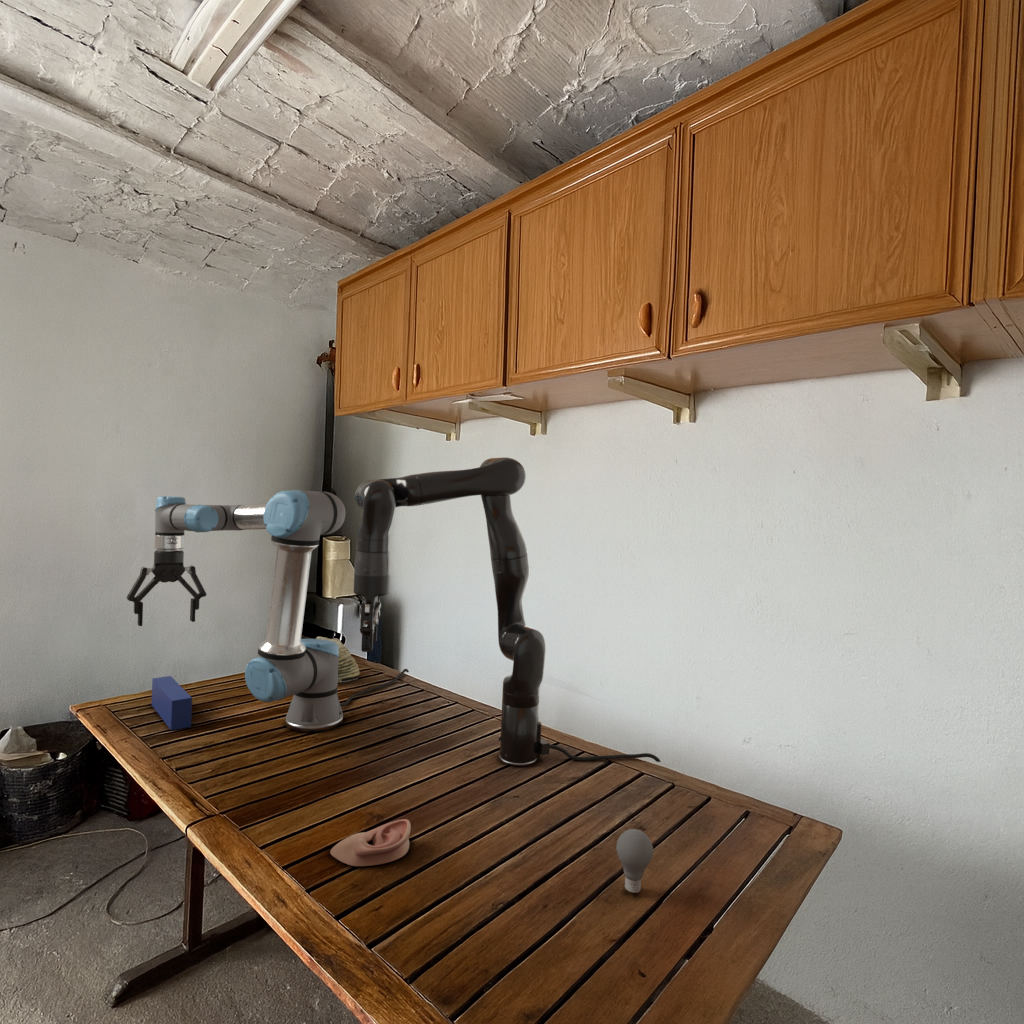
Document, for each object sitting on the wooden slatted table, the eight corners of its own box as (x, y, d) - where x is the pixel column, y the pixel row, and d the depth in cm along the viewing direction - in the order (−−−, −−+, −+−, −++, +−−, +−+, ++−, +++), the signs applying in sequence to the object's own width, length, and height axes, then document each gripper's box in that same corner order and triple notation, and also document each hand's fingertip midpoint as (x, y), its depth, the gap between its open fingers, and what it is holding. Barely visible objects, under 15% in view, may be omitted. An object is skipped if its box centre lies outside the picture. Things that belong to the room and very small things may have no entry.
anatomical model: (322, 838, 110) (352, 807, 121) (321, 861, 110) (351, 828, 121) (394, 850, 107) (417, 817, 119) (393, 873, 107) (416, 838, 119)
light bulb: (610, 879, 108) (613, 822, 108) (644, 879, 109) (647, 822, 109) (619, 902, 102) (622, 840, 102) (655, 901, 103) (658, 840, 103)
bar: (151, 705, 185) (152, 678, 185) (170, 702, 188) (170, 675, 188) (170, 730, 166) (171, 700, 166) (191, 726, 169) (192, 697, 169)
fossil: (300, 681, 213) (301, 637, 213) (350, 673, 226) (352, 631, 226) (311, 688, 207) (313, 642, 207) (362, 679, 219) (364, 636, 219)
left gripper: (121, 551, 172) (118, 629, 172) (218, 550, 188) (216, 621, 188) (116, 549, 178) (114, 624, 178) (212, 548, 193) (209, 617, 194)
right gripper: (386, 576, 130) (383, 655, 131) (392, 569, 144) (389, 639, 145) (349, 575, 129) (346, 654, 130) (358, 568, 144) (355, 639, 144)
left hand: (166, 623), depth 183 cm, fingers open, 13 cm apart
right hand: (369, 646), depth 137 cm, fingers open, 8 cm apart
